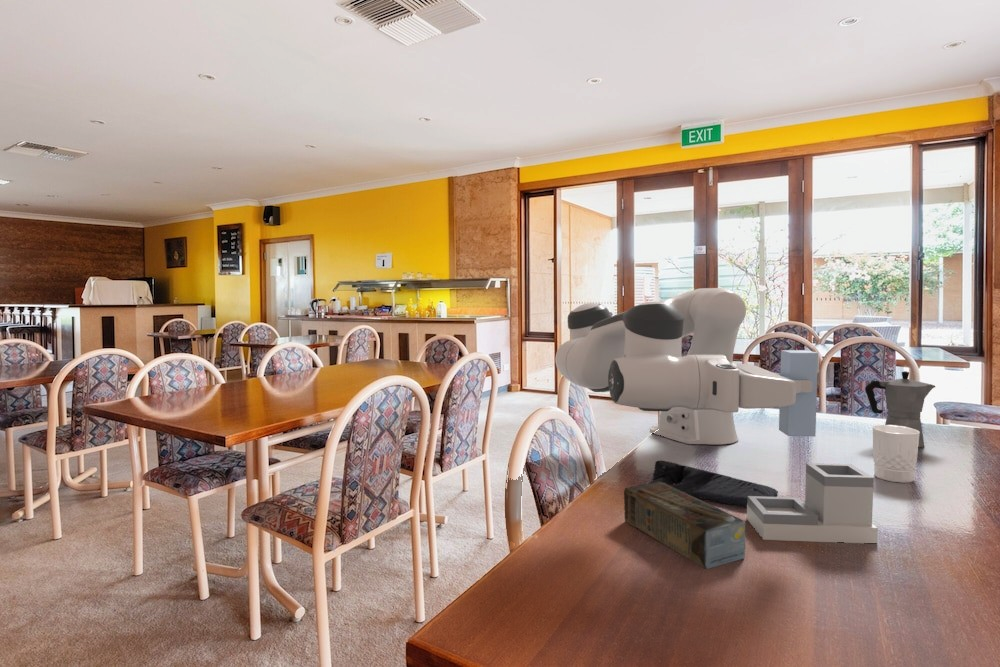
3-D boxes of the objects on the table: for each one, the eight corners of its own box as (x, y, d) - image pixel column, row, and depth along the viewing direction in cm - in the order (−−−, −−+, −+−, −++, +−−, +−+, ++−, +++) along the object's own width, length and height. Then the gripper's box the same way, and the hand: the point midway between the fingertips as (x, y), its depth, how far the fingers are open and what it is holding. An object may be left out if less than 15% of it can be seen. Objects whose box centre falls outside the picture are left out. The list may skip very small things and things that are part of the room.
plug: (788, 436, 91) (790, 352, 90) (778, 429, 94) (781, 350, 94) (819, 436, 90) (822, 352, 89) (808, 430, 94) (811, 350, 93)
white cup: (925, 485, 114) (927, 434, 113) (880, 482, 116) (882, 433, 115) (906, 472, 122) (908, 425, 121) (864, 470, 123) (866, 424, 123)
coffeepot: (922, 439, 148) (925, 369, 147) (942, 449, 139) (946, 374, 138) (855, 437, 151) (858, 368, 150) (871, 446, 142) (874, 373, 141)
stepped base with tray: (763, 539, 90) (764, 476, 89) (746, 518, 98) (747, 460, 98) (877, 543, 88) (879, 479, 87) (850, 522, 97) (852, 462, 96)
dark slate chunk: (749, 517, 100) (749, 490, 100) (639, 487, 116) (639, 464, 116) (785, 496, 110) (785, 471, 110) (680, 470, 126) (680, 449, 126)
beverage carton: (704, 572, 81) (705, 525, 80) (621, 523, 98) (621, 484, 98) (747, 560, 84) (747, 515, 83) (659, 515, 101) (659, 477, 101)
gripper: (697, 390, 104) (778, 391, 102) (730, 415, 83) (832, 416, 82) (698, 355, 103) (779, 355, 102) (730, 371, 83) (833, 372, 81)
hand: (803, 383), depth 92 cm, fingers closed on plug, 4 cm apart
